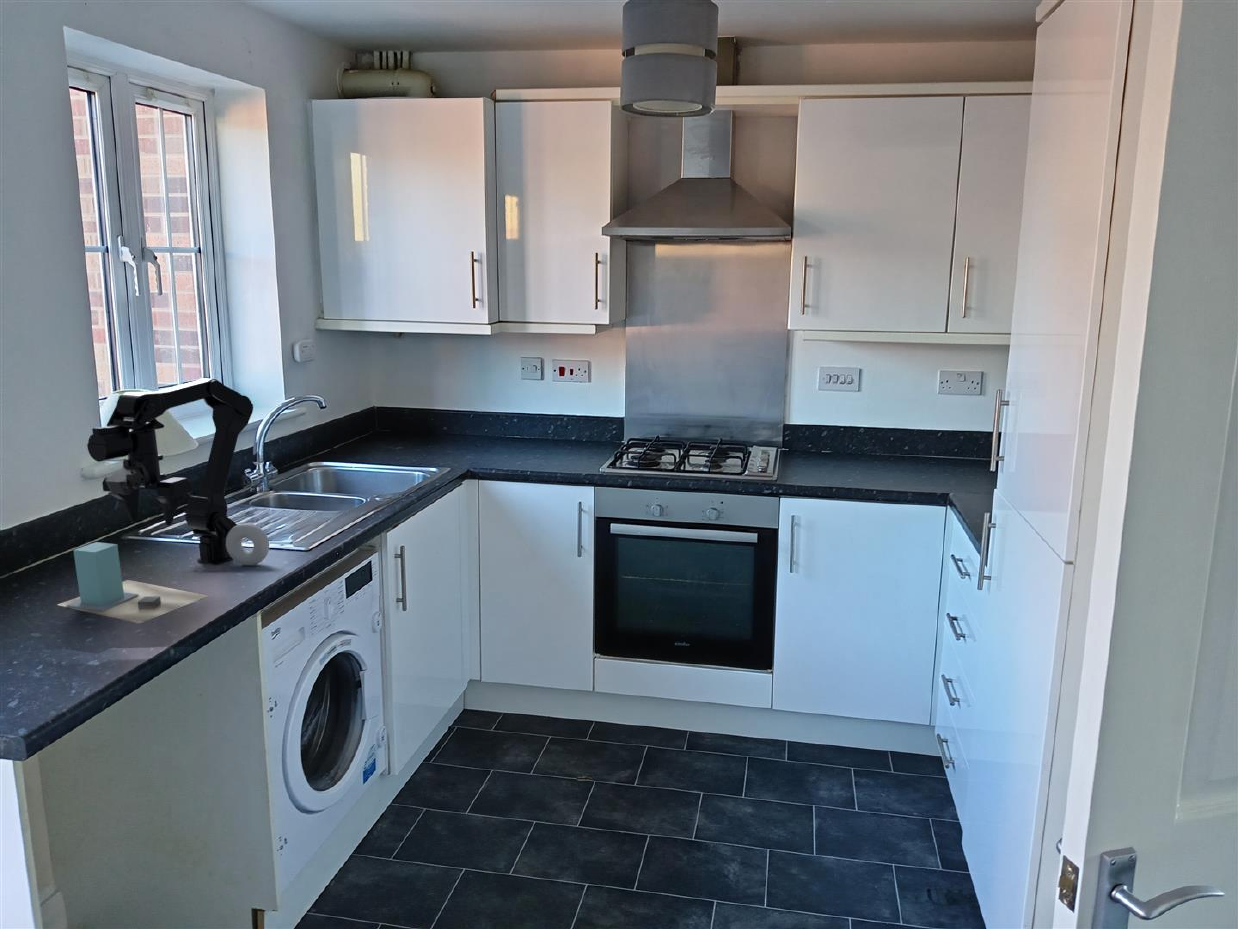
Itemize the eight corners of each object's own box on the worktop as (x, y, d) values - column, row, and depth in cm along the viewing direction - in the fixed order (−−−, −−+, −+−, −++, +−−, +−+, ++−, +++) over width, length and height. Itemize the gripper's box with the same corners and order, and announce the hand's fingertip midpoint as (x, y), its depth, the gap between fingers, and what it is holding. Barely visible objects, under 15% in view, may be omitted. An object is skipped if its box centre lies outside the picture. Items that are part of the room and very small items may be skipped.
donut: (225, 567, 213) (220, 525, 211) (232, 562, 217) (228, 520, 214) (267, 568, 212) (263, 525, 210) (274, 563, 216) (270, 521, 213)
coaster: (104, 591, 194) (103, 590, 194) (138, 596, 191) (138, 594, 191) (66, 607, 186) (66, 605, 185) (102, 612, 183) (101, 610, 183)
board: (128, 586, 201) (127, 573, 201) (209, 602, 191) (208, 588, 191) (57, 611, 187) (55, 597, 187) (140, 631, 177) (138, 616, 176)
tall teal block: (103, 593, 192) (96, 542, 189) (124, 596, 190) (117, 544, 188) (80, 603, 187) (73, 550, 184) (102, 605, 185) (94, 552, 182)
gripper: (76, 457, 194) (86, 530, 197) (148, 462, 188) (157, 537, 191) (119, 447, 204) (128, 516, 207) (189, 451, 198) (197, 523, 202)
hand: (151, 523), depth 202 cm, fingers open, 9 cm apart
